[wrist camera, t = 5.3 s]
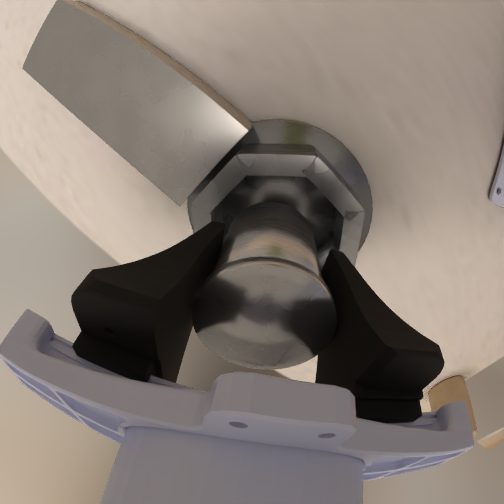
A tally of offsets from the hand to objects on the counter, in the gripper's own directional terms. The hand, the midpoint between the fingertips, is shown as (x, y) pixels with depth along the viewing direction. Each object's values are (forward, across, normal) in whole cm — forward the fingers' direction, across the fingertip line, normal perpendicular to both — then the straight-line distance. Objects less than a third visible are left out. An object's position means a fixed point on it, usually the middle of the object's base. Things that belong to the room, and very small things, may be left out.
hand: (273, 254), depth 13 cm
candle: (+5, -28, +17) cm, 33 cm away
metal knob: (+2, 0, 0) cm, 2 cm away
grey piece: (+4, +6, -4) cm, 9 cm away
